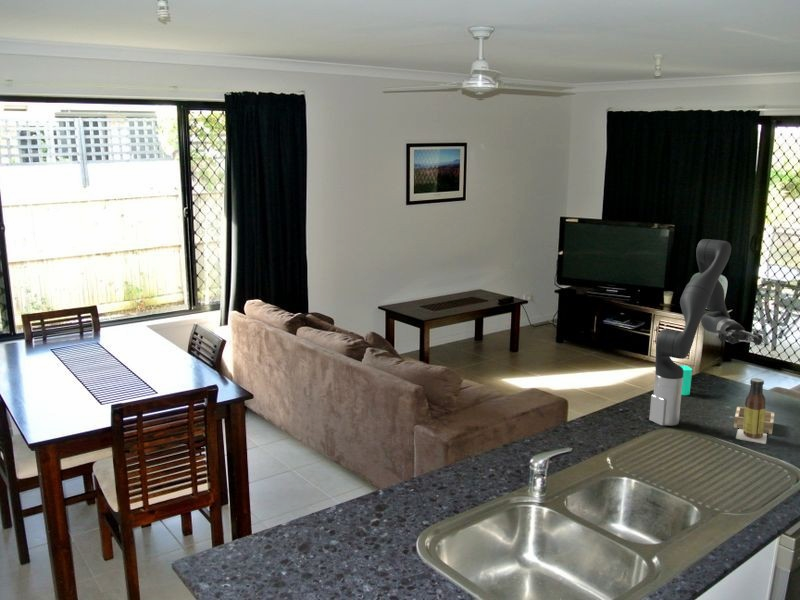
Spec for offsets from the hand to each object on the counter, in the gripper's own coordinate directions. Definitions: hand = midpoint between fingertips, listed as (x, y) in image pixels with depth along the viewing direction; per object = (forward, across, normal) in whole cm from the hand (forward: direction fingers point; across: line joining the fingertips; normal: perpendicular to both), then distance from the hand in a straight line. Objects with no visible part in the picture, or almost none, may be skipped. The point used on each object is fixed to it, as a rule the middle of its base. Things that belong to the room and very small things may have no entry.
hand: (746, 341), depth 248 cm
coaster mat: (+13, 0, +30) cm, 33 cm away
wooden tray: (+2, +5, +30) cm, 30 cm away
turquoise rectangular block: (-31, -11, +30) cm, 44 cm away
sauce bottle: (+13, +1, +30) cm, 32 cm away
